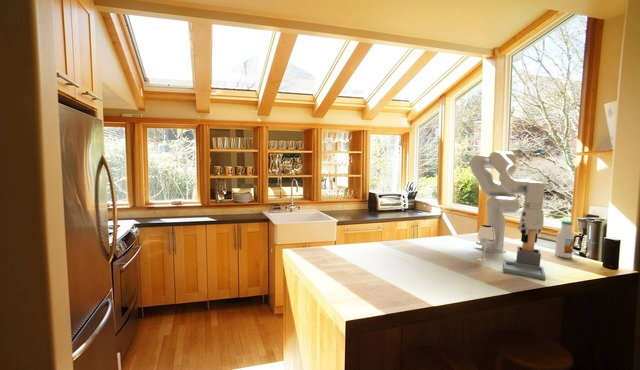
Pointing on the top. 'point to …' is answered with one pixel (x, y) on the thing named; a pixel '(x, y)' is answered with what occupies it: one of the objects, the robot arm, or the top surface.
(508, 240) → the top surface
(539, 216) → the robot arm
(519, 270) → the tray
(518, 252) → the grey open box
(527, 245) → the tan tall block
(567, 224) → the milk bottle
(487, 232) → the wineglass
